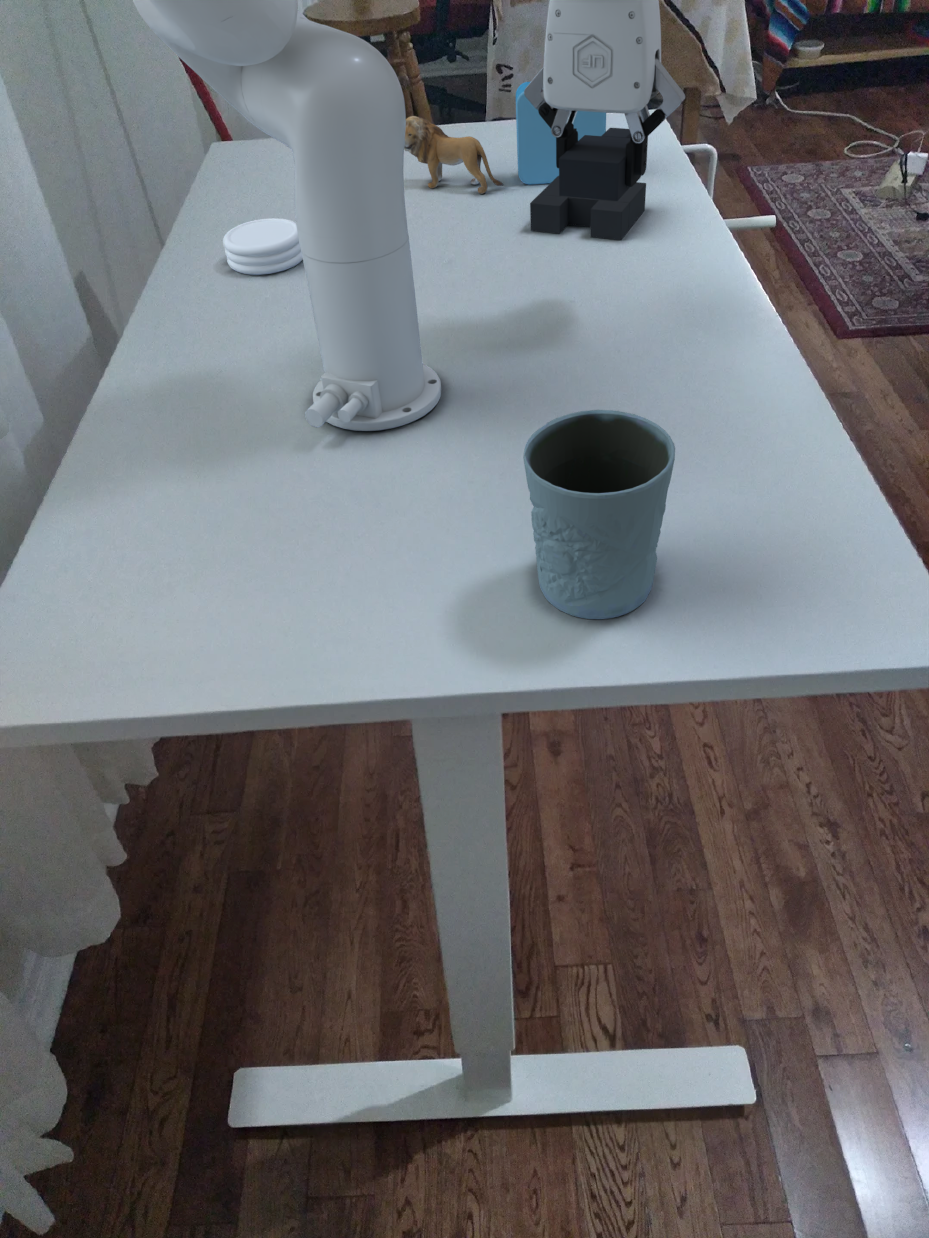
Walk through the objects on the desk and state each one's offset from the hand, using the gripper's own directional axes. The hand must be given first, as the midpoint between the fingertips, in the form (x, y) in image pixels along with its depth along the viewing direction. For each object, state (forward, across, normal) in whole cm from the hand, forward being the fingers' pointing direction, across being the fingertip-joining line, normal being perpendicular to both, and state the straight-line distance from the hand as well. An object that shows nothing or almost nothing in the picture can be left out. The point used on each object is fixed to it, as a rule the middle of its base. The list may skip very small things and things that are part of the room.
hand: (600, 177), depth 95 cm
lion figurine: (+15, -33, +32) cm, 48 cm away
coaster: (+15, -45, +2) cm, 47 cm away
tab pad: (+1, 0, +1) cm, 2 cm away
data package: (+15, -20, +39) cm, 46 cm away
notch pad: (+15, -10, +25) cm, 31 cm away
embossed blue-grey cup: (+15, +15, -42) cm, 47 cm away
